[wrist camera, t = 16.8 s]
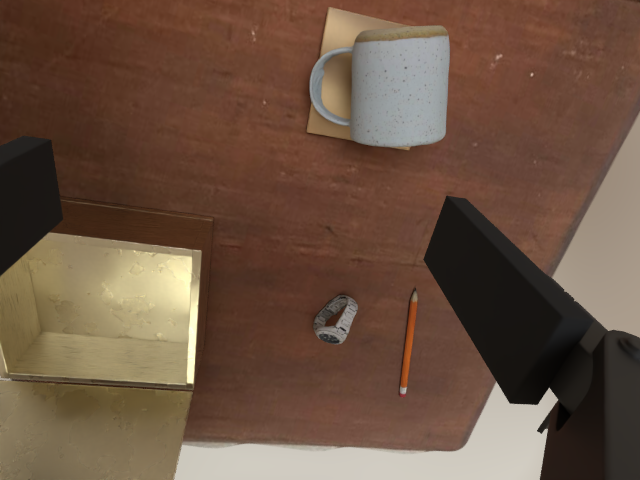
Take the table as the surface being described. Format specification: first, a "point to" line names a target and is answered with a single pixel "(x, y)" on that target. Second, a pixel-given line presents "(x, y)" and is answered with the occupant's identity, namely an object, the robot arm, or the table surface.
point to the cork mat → (341, 69)
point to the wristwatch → (343, 324)
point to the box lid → (90, 432)
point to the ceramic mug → (393, 86)
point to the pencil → (408, 343)
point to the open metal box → (109, 298)
